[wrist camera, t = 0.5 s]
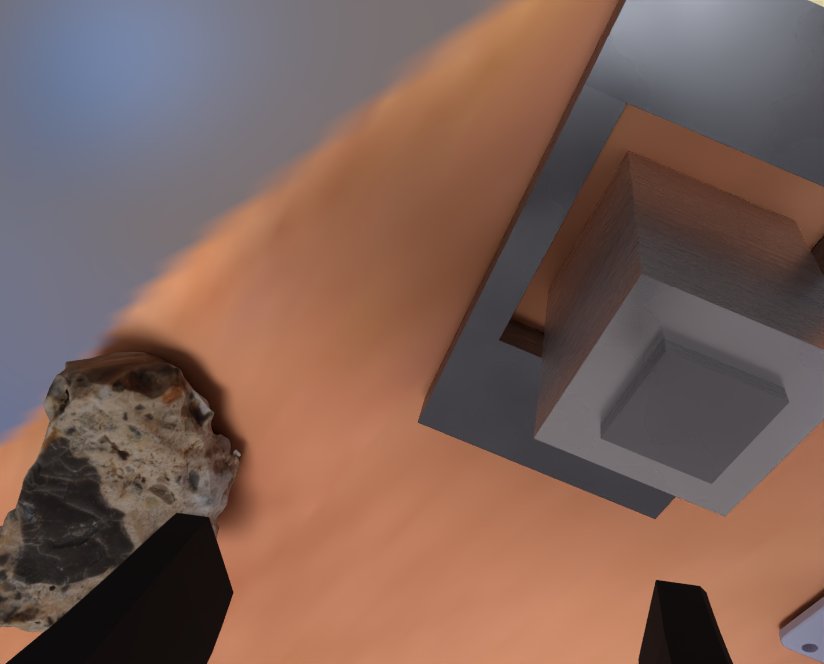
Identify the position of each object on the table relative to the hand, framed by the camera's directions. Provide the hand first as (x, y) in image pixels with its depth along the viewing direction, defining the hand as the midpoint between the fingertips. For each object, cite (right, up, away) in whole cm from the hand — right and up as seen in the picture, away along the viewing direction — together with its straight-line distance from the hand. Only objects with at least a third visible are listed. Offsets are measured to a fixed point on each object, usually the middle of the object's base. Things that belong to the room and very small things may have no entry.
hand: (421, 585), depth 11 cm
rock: (-9, 0, +15) cm, 18 cm away
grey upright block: (+6, +6, +7) cm, 11 cm away
